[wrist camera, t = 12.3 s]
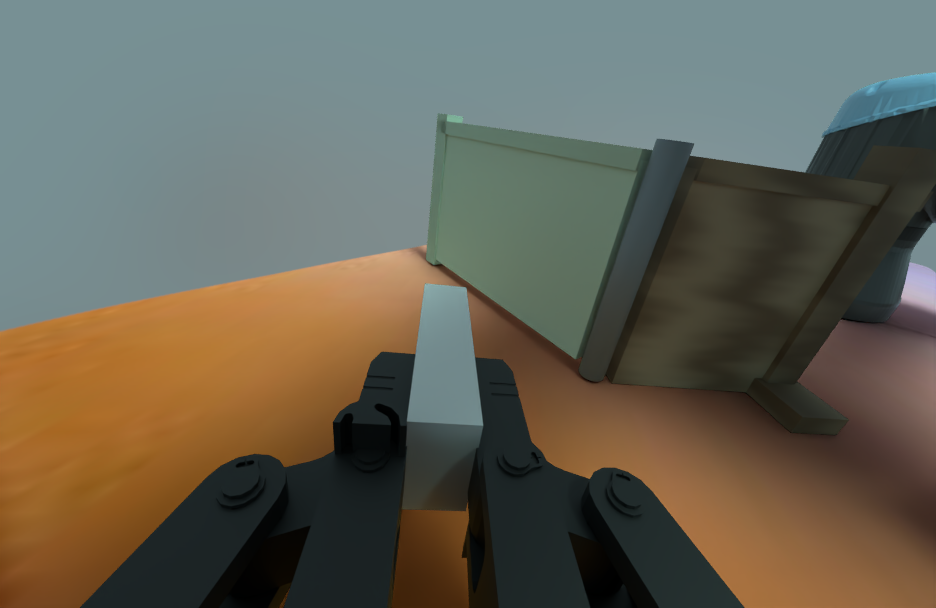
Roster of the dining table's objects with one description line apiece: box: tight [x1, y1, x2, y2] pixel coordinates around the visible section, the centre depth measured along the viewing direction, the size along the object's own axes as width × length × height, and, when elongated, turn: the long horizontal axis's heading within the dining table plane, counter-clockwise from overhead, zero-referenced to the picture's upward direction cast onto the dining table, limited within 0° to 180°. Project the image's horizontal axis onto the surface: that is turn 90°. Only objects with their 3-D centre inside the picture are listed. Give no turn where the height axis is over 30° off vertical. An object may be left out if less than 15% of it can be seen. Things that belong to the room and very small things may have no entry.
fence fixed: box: [606, 145, 936, 435], centre depth 20 cm, size 12×8×15 cm, turn 95°
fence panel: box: [426, 114, 694, 382], centre depth 27 cm, size 22×2×14 cm, turn 35°
